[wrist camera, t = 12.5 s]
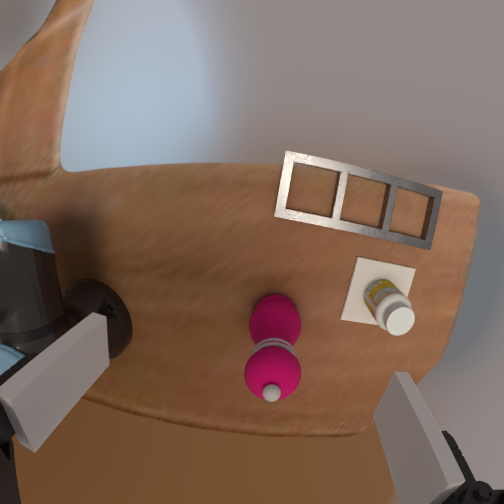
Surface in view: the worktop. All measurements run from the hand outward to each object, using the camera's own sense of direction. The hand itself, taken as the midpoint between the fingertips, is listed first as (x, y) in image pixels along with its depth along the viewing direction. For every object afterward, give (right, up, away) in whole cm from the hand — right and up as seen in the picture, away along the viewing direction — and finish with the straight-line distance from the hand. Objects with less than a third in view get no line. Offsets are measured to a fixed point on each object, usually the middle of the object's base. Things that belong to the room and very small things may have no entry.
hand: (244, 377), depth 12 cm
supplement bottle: (+20, -1, +31) cm, 36 cm away
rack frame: (+16, +13, +28) cm, 35 cm away
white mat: (+20, -1, +31) cm, 37 cm away
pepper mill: (+4, -4, +33) cm, 34 cm away
